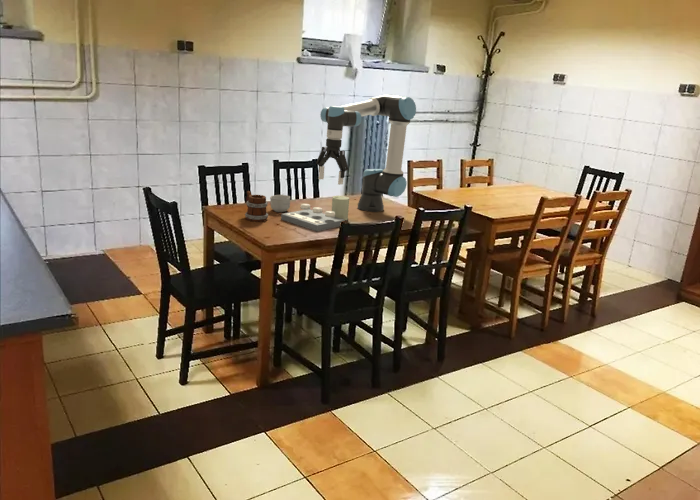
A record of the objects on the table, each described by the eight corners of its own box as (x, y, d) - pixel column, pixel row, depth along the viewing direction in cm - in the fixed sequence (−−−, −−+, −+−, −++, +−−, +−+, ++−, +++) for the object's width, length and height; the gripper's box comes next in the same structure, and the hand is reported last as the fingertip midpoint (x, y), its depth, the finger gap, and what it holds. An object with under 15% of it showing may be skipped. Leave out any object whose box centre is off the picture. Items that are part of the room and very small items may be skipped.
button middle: (317, 210, 308) (317, 206, 308) (324, 212, 305) (324, 208, 305) (310, 211, 305) (310, 208, 304) (317, 213, 302) (317, 210, 301)
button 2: (329, 214, 303) (330, 210, 302) (337, 216, 300) (337, 212, 299) (323, 215, 299) (323, 211, 299) (330, 217, 296) (330, 213, 295)
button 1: (305, 207, 314) (305, 203, 313) (312, 209, 311) (312, 205, 310) (298, 208, 310) (298, 204, 310) (305, 210, 307) (305, 206, 307)
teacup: (286, 214, 316) (286, 199, 314) (266, 211, 318) (267, 197, 316) (293, 208, 329) (294, 194, 327) (275, 206, 331) (275, 192, 329)
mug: (253, 223, 294) (251, 192, 291) (238, 221, 304) (236, 191, 302) (273, 220, 301) (271, 190, 299) (258, 218, 312) (256, 190, 309)
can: (328, 216, 318) (329, 194, 315) (344, 216, 322) (345, 194, 318) (334, 221, 310) (336, 198, 307) (350, 220, 314) (352, 198, 310)
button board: (308, 214, 320) (309, 208, 319) (344, 225, 303) (344, 219, 302) (281, 219, 305) (281, 213, 304) (316, 231, 289) (317, 224, 288)
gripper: (310, 135, 294) (308, 177, 300) (347, 142, 278) (343, 187, 284) (321, 135, 299) (318, 176, 305) (358, 142, 284) (354, 185, 290)
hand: (330, 181), depth 295 cm, fingers open, 13 cm apart
